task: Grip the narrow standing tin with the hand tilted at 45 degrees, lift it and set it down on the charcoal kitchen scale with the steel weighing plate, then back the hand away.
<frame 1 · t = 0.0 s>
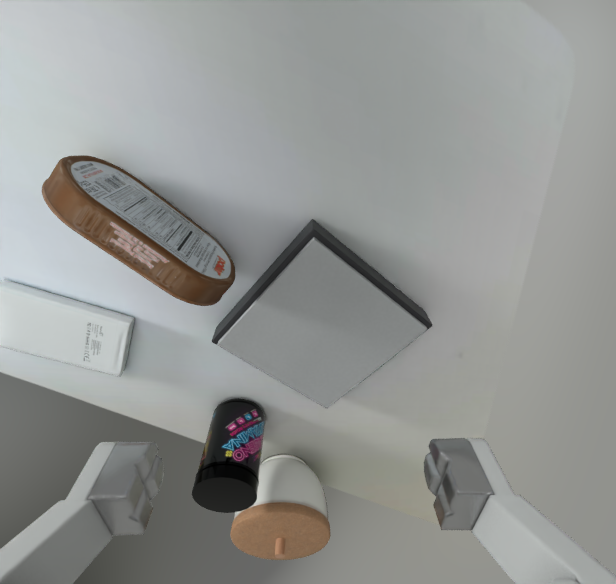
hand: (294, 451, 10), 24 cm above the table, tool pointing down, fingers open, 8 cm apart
scale: (320, 319, 37), on the table
supplement container: (240, 412, 45), on the table
hard drive: (71, 326, 37), on the table
tin: (170, 214, 31), on the table
lidded bowl: (283, 467, 52), on the table
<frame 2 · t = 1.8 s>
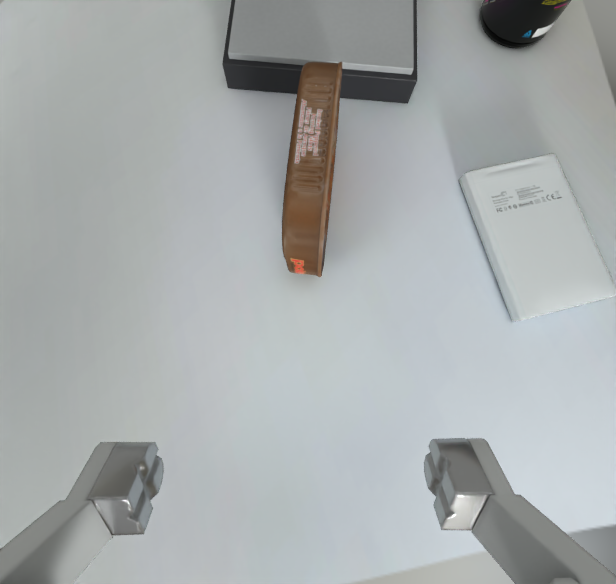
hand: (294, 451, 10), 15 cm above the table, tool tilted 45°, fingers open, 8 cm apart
scale: (323, 23, 32), on the table
supplement container: (509, 25, 33), on the table
hard drive: (526, 239, 29), on the table
tin: (311, 200, 29), on the table
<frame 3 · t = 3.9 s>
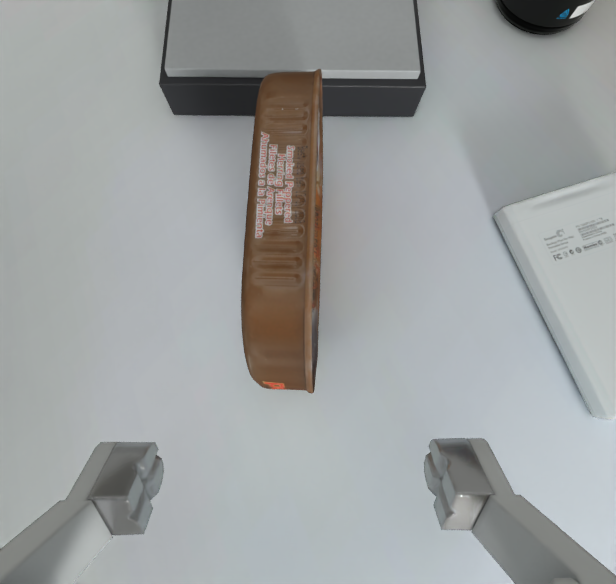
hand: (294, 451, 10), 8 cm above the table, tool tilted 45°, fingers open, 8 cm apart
scale: (294, 22, 25), on the table
supplement container: (533, 6, 26), on the table
hard drive: (594, 290, 21), on the table
tin: (294, 259, 21), on the table
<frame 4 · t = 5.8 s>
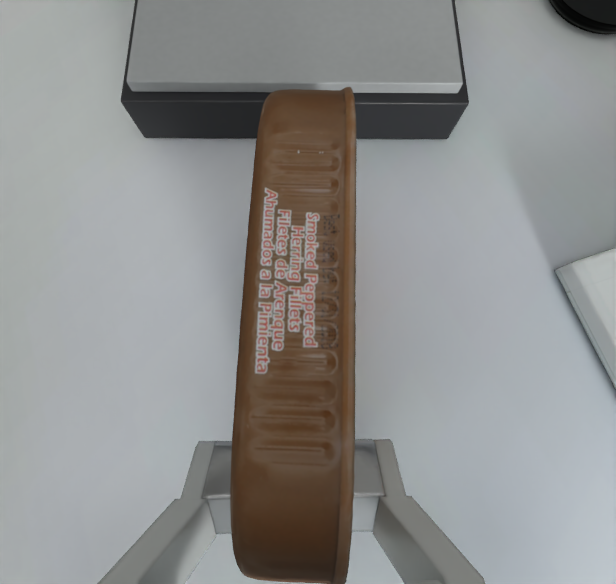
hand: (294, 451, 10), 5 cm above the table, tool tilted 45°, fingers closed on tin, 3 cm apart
scale: (297, 19, 20), on the table
supplement container: (592, 0, 21), on the table
tin: (296, 328, 16), on the table, touching gripper
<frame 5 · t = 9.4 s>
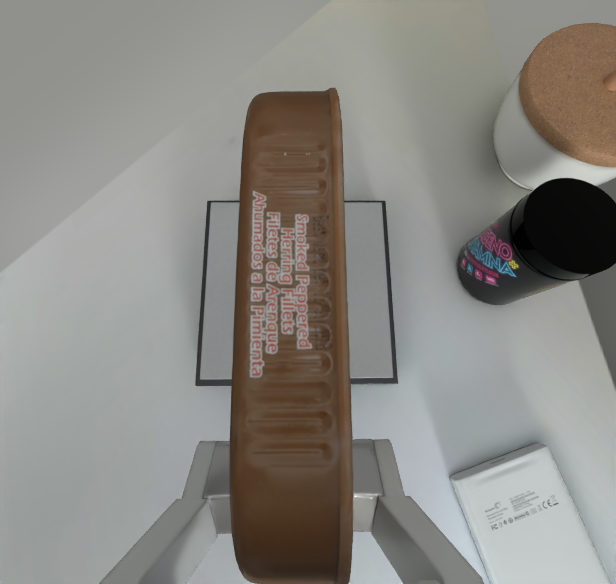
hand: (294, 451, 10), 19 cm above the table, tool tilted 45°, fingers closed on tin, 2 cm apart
scale: (297, 293, 31), on the table
supplement container: (488, 272, 32), on the table
hard drive: (525, 538, 27), on the table
tin: (291, 329, 16), point 15 cm above the table, touching gripper
lidded bowl: (530, 160, 35), on the table
when the fingers open (8 cm above the table, at t = 12.9 s): tin stays where it is, resting on scale.
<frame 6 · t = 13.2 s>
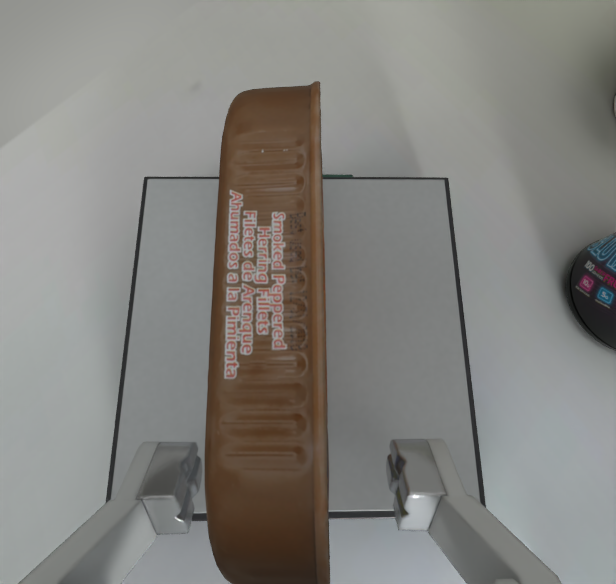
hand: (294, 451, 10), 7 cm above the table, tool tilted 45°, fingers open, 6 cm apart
scale: (297, 334, 19), on the table
supplement container: (615, 298, 20), on the table
tin: (291, 329, 16), point 3 cm above the table, touching scale
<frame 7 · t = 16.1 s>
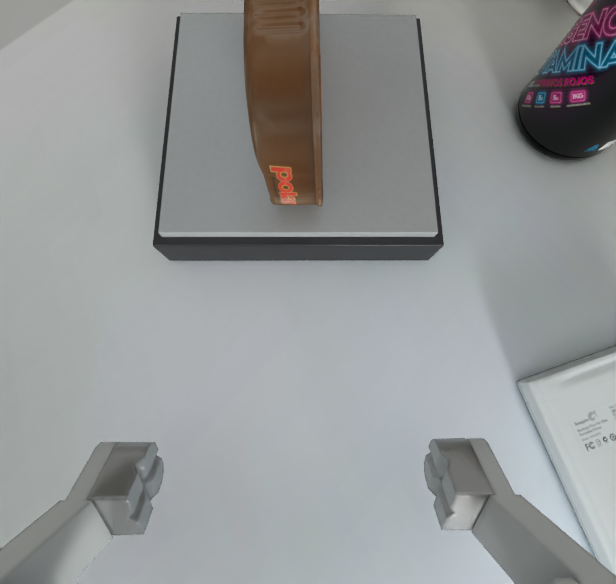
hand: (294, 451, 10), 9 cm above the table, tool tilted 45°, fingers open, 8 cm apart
scale: (299, 147, 23), on the table
supplement container: (557, 125, 24), on the table
tin: (294, 117, 20), point 3 cm above the table, touching scale
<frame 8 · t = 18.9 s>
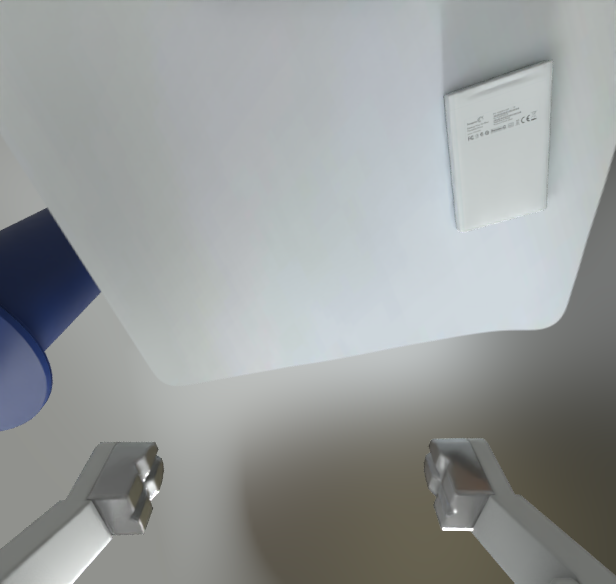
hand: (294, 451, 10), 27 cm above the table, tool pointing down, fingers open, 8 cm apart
hard drive: (493, 153, 32), on the table
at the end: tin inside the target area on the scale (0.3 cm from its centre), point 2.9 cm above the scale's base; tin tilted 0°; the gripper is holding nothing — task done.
